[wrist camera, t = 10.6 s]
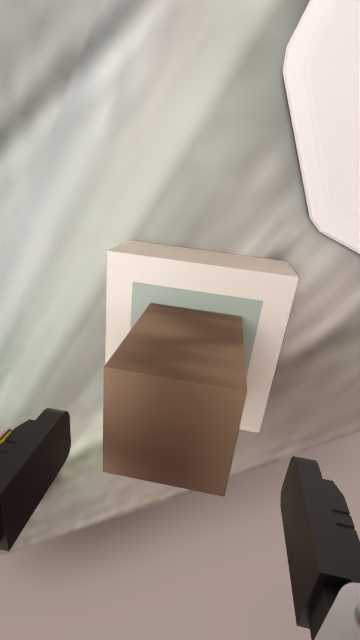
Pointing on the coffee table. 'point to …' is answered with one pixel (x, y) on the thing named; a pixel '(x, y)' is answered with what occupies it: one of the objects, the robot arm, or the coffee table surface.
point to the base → (206, 302)
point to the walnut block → (175, 399)
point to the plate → (327, 114)
